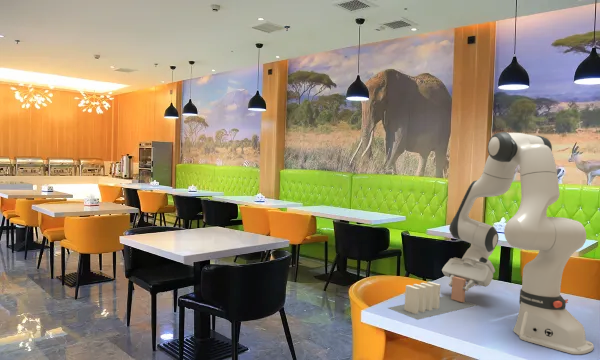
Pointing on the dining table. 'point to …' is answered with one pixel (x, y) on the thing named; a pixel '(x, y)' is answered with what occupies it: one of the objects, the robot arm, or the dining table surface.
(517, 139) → the robot arm
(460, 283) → the terracotta domino
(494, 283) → the dining table surface
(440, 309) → the rubber mat
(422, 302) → the ivory domino
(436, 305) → the ivory domino
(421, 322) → the dining table surface
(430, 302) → the ivory domino
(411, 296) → the ivory domino
